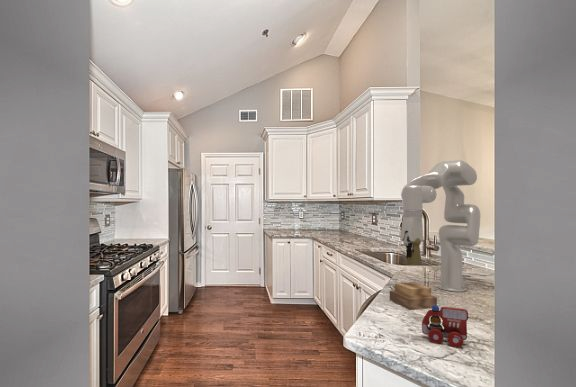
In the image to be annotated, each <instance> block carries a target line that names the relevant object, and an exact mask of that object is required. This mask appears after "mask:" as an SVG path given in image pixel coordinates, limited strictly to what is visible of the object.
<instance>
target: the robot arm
mask: <svg viewBox="0 0 576 387" xmlns="http://www.w3.org/2000/svg"><path fill="white" fill-rule="evenodd" d="M477 180H478V174H477V171H476V170H475V168H474V167H473V166H472V165H470V164H469V163H468V162H466V161H464V160H462V159H458V160H456V159H455V160H447V161H446V160H445V161H440V162H438V163H436V164H435V165H434V167H432V168H431V170H430V171H428V172H427V173H426V174H423V175H420V176H419V177H416V178H414V179H412V180H410V181H408V182H407V183H406V184H405V185H404V187H403V188H402V190H401V194H400V196H401V199H402V200H403V201H402V204H403V205H402V214H403V215H402V217H403V218H402V222H401V232H400V240H401V241H402V242H403V245H404V246H405V250H406V260H407V259H408V257H411V256H412V250H413V248H414V245H413V242H415V240H416V239H417V238H419V239H420V240H421V243H422V242H423V241H422V240H423V238H424V236H423V235H424V231H423V229H424V228H423V204H430V203H433V202H434V201H435V200H436V198H437V191H436V190H437V189H440V188H441V187H442V189H443V191H444V193H445V202H444V211H443V212H444V214H443V218H444V220H445V221H446V222H448V223H451V224H445V225H444V224H443V225H442V226H441V227H440V228H439V229H438V239H439V245H440V283H438V284H437V286H436V287H437V288H438V289H440V290H442V291H443V290H444V291H446V292H455V293H462V292H466V291H467V287H465V285H466V286H467V285H470V283H471V282H470V280H463V252H462V251H461V249H460V247H459V246H465V247H466V246H467V247H474V246H476V245H477V244H478V243H479V240H480V239H479V238H480V226H481V210H480V208H479V206H477V205H476V204H472V203H471V204H469V203H467V204H465V194H464V192H463V190H461V188H460V186H472V185H474V184H475V183H476V182H477ZM456 224H457V225H456ZM458 224H466V225H458ZM408 240H410V241H411V242H408ZM410 243H411V244H410ZM413 253H414V250H413Z"/></svg>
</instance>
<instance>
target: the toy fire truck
mask: <svg viewBox="0 0 576 387" xmlns="http://www.w3.org/2000/svg"><path fill="white" fill-rule="evenodd" d="M468 320H469V312H468V310H467V309H465V308H456V307H448V306H442V307H439V306H438V304H437V305H433V306H432V308H431V309H427V311H426V313H425V315H424V317H423V319H422V321H421V332H422V334H424V335H427V336H428V338H429V340H430V342H432V343H433V344H435V345H436V344H437V345H438V344H439V345H440V344H441V343H443V341H444V338H447V341H448V344H449V345H450V346H451V347H453V348H461V347H462V346H463V345H464V341H466V340H467V339H468V331H467V330H468V328H467V326H468V325H467V322H468Z"/></svg>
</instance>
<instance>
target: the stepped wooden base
mask: <svg viewBox="0 0 576 387" xmlns="http://www.w3.org/2000/svg"><path fill="white" fill-rule="evenodd" d="M389 301H390V302H392V303H395V304H396V305H399V306H400V307H402V308H405V309H407V310H409V311H412V310H423V309H432V306H433V305H437V306H438V297H436V296H434V295H432V288H431V287H430V286H426V285H424V284H421V283H418V282H416V281H411V282H408V281H407V282H394V290H389Z"/></svg>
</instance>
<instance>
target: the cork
mask: <svg viewBox="0 0 576 387" xmlns="http://www.w3.org/2000/svg"><path fill="white" fill-rule="evenodd" d="M408 242H411V241H410V240H408ZM421 243H422V242H421V240H420V239H419V238H417V239H416V240H415V242H413V245H414V248H413V250H414V253H413V250H412V256H411V257H408V259H407V258H406V264H407V265H411V266H421V265H423V262H422V257H421V250H420V249H421V248H420V245H421ZM410 244H411V243H410Z"/></svg>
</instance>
